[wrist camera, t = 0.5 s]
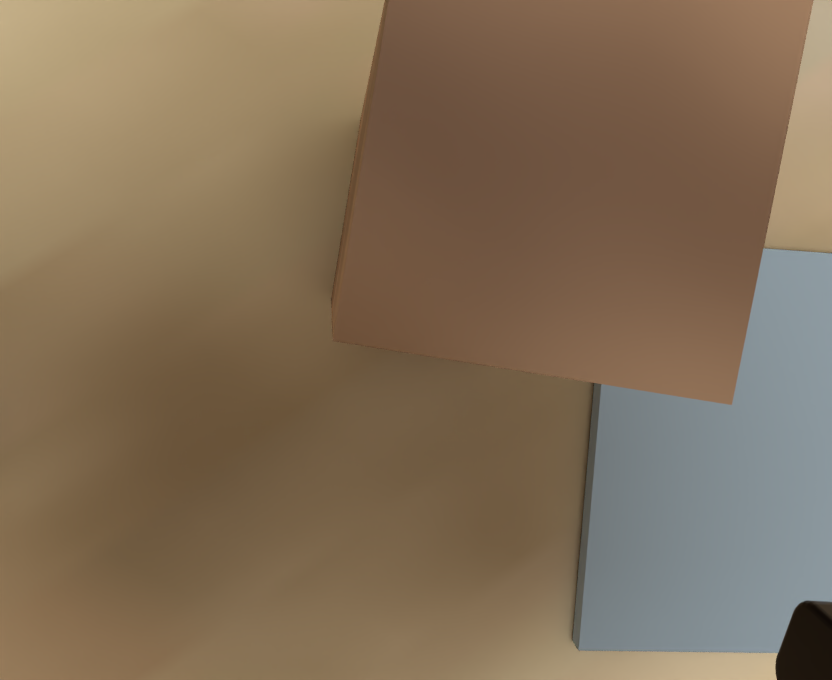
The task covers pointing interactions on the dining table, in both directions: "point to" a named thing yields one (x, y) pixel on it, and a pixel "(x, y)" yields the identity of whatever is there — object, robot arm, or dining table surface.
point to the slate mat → (717, 489)
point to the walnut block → (569, 185)
